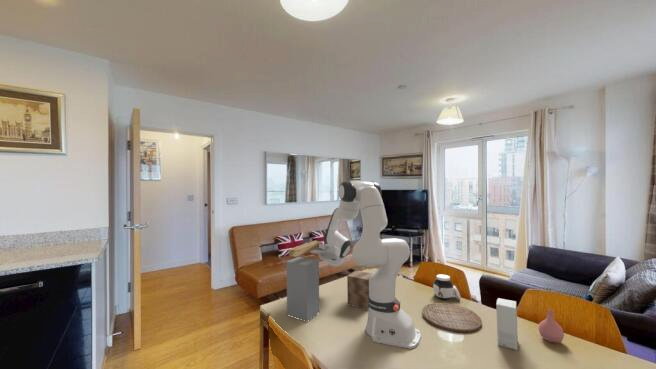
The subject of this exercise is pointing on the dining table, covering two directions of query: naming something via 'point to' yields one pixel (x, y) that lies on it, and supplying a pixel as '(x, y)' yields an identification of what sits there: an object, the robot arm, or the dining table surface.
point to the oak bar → (303, 248)
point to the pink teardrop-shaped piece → (551, 329)
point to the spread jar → (444, 288)
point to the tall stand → (303, 288)
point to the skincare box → (507, 323)
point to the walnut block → (358, 288)
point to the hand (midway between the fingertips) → (314, 244)
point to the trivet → (451, 318)
